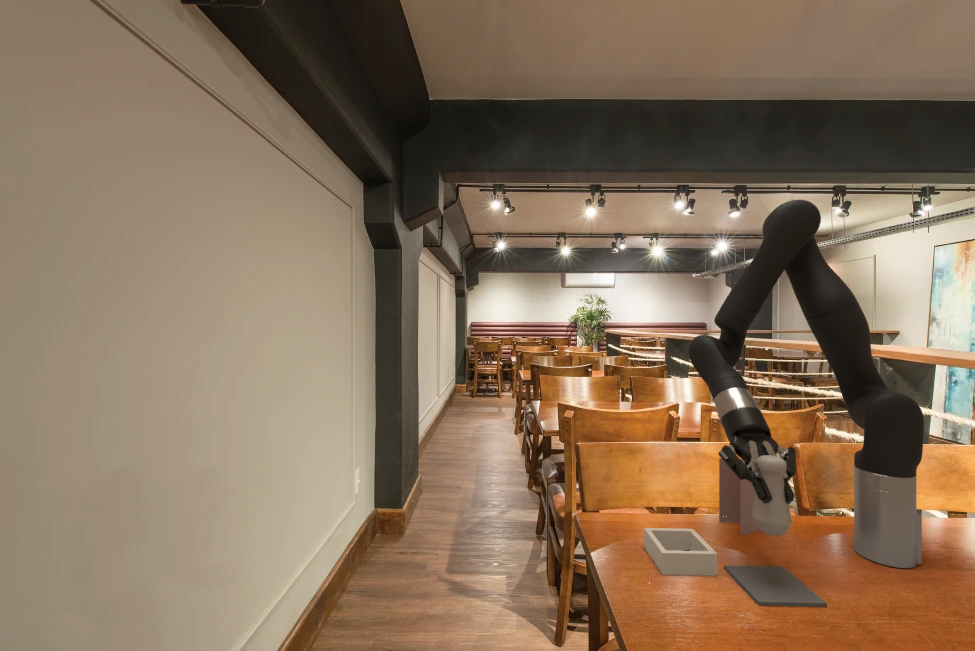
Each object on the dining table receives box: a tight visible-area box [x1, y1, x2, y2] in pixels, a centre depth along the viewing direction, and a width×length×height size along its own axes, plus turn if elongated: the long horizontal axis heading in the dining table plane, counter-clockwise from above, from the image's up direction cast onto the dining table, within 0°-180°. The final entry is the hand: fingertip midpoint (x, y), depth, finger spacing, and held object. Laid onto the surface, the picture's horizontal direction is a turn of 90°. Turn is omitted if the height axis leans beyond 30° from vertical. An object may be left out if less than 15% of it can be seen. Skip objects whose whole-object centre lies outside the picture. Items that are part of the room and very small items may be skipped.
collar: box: [643, 527, 718, 577], centre depth 85 cm, size 10×10×4 cm
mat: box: [723, 565, 828, 608], centre depth 77 cm, size 11×11×1 cm
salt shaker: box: [752, 455, 792, 537], centre depth 77 cm, size 6×6×13 cm
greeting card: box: [718, 457, 762, 537], centre depth 99 cm, size 11×7×15 cm, turn 81°
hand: (778, 501), depth 75 cm, fingers closed on salt shaker, 3 cm apart
